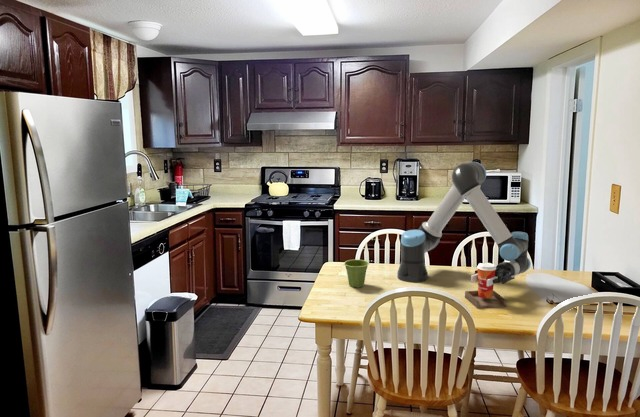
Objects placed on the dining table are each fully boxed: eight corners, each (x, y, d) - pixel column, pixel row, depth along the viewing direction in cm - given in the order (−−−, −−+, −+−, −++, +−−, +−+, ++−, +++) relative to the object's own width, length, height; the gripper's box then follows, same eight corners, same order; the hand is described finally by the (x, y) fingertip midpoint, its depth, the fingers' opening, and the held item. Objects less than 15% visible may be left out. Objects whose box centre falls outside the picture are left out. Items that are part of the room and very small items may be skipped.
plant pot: (339, 285, 221) (339, 263, 219) (354, 279, 230) (354, 258, 228) (358, 291, 213) (358, 268, 212) (373, 284, 222) (373, 262, 220)
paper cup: (472, 293, 201) (474, 262, 198) (489, 292, 201) (491, 261, 199) (480, 300, 193) (482, 268, 190) (498, 299, 193) (499, 267, 191)
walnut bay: (476, 308, 191) (477, 301, 190) (464, 297, 203) (465, 291, 203) (506, 306, 192) (506, 300, 191) (492, 296, 204) (492, 289, 204)
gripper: (528, 282, 200) (501, 295, 186) (486, 272, 215) (458, 284, 201) (529, 266, 199) (501, 277, 184) (487, 257, 214) (459, 267, 199)
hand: (479, 281), depth 193 cm, fingers closed on paper cup, 7 cm apart
